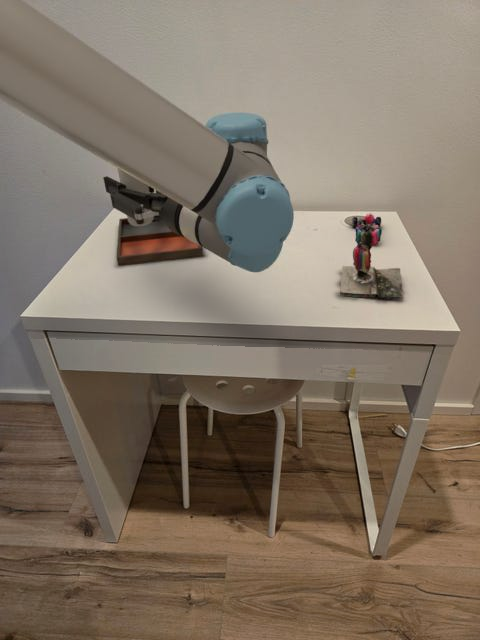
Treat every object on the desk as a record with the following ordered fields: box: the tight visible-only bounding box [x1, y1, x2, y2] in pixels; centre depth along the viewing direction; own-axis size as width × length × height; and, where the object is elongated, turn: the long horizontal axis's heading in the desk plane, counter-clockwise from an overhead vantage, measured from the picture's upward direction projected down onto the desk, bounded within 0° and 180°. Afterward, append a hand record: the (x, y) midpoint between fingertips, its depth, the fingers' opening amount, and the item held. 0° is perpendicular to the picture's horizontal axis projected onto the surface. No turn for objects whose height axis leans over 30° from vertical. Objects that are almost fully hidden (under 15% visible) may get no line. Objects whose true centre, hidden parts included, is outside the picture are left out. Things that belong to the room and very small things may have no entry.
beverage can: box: [116, 167, 153, 226], centre depth 78 cm, size 5×5×12 cm
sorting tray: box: [116, 217, 204, 266], centre depth 100 cm, size 18×20×2 cm
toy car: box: [351, 216, 382, 228], centre depth 100 cm, size 12×6×4 cm, turn 177°
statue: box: [339, 212, 404, 301], centre depth 79 cm, size 11×9×15 cm
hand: (120, 180), depth 81 cm, fingers closed on beverage can, 5 cm apart
